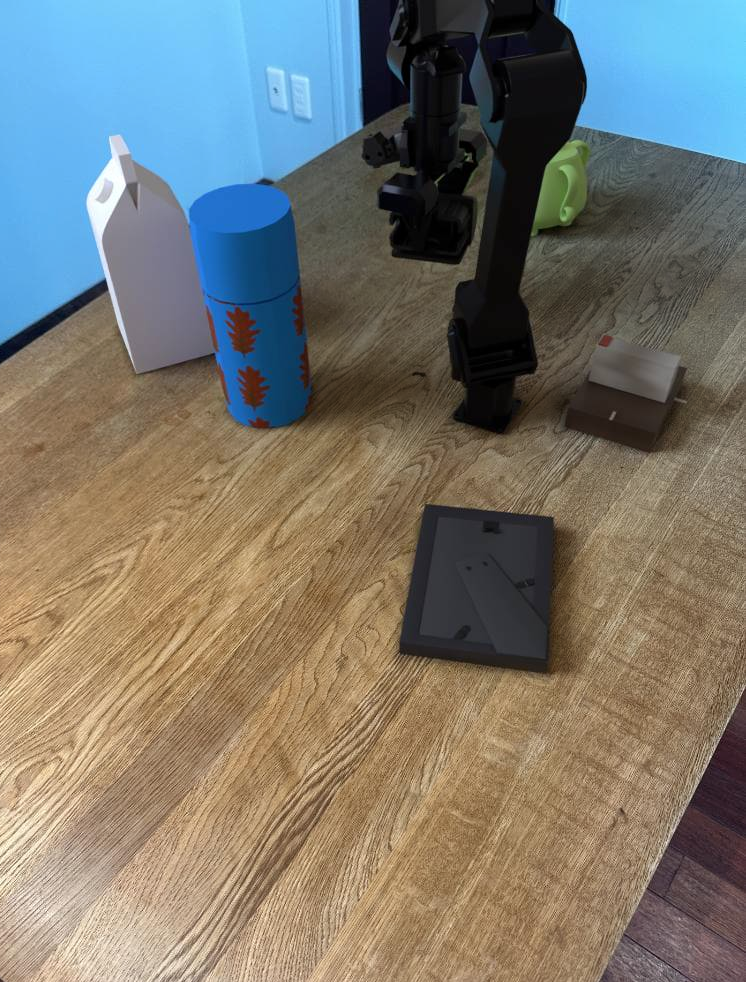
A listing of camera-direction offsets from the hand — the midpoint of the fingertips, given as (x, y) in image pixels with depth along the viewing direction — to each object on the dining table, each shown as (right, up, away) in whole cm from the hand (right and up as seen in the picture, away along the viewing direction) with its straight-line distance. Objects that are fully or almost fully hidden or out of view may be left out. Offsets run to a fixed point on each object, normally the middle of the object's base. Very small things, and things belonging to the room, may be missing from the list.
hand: (432, 237), depth 104 cm
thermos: (-21, -22, -2) cm, 30 cm away
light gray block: (+22, -21, -9) cm, 32 cm away
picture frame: (+2, -44, -24) cm, 50 cm away
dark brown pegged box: (+22, -23, -7) cm, 33 cm away
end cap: (0, -1, +1) cm, 2 cm away
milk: (-35, -11, +8) cm, 38 cm away
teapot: (+18, +12, +24) cm, 33 cm away
